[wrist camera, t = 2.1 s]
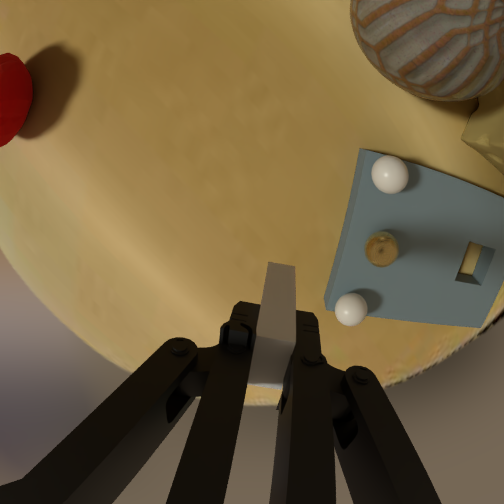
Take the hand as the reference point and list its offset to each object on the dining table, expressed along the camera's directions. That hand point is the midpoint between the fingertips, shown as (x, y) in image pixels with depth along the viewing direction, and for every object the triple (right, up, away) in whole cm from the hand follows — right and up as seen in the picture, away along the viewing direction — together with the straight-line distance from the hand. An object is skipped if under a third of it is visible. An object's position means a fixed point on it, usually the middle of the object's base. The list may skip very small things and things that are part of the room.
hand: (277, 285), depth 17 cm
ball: (+10, +2, +7) cm, 12 cm away
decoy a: (+10, +8, +5) cm, 14 cm away
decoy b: (+8, -4, +10) cm, 13 cm away
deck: (+18, +2, +11) cm, 21 cm away
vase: (+13, +22, +3) cm, 26 cm away
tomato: (-33, +23, +9) cm, 41 cm away
